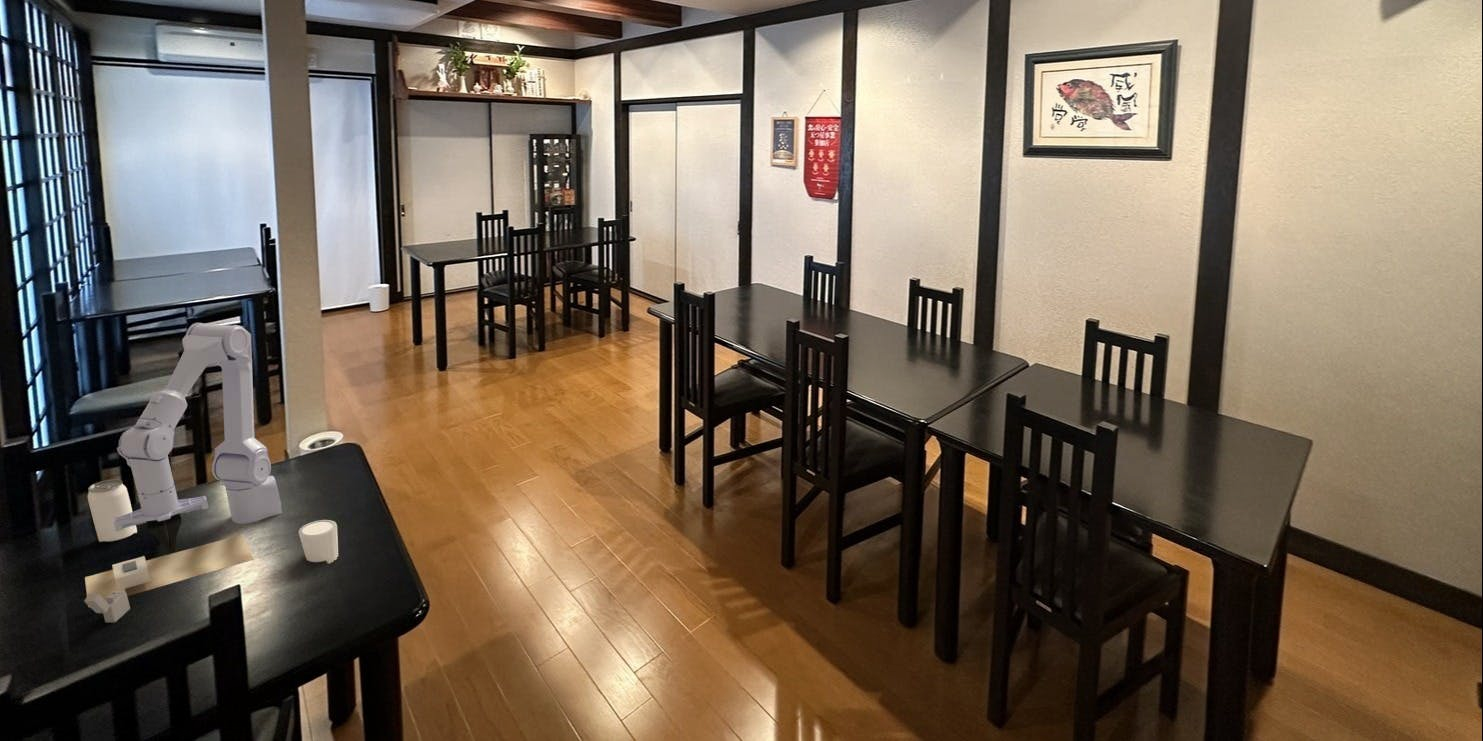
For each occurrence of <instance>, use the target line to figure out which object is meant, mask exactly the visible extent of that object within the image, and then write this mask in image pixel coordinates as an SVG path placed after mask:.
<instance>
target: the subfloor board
mask: <svg viewBox="0 0 1483 741" xmlns="http://www.w3.org/2000/svg"><path fill="white" fill-rule="evenodd" d="M253 560H255V558H254V556H253V554H252V552H251V550H250V548H249V546H248V543H247V541H246V540H245V538H244V535H243V534H239V535H235V536H231V537H228V538H223V539H221V540H218V541H213V542H209V543H206V544H203V545H198V546H195V547H191V548H187V549H184V550H180V551H176V552H174V553H171V554H165V555H162V556H158V557H155V558H151V559H148V560H146V564H147V568H148V573H149V577H150V582H147V583H143V584H140V585H136V586H133V587H129V588H126V589H122V590H119V592H126V594H127V597H131V596H133V595H134V596H135V595H136V594H140V593H143V592H146V591H151V590H153V589H157V588H161V587H164V586H167V585H172V584H175V583H178V582H181V581H182V582H183V581H185V580H188V579H191V578H192V579H193V578H195V577H199V576H201V575H206V574H208V573H212V572H215V571H218V570H223V569H227V568H229V567H233V566H236V565H240V564H243V563H247V562H250V561H253ZM84 581H85V582H84V583H85V590H86V597H87V596H88V594H99V595H100V596H101V597H102V598H103V599H104V600H105V601H107V600H106V597H107V596H108V595H109V594H111V593H112V592H116V591H118V590H117V586H116V582H115V578H114V572H113V569H110V570H106V571H103V572H99V573H96V574H93V575H89V576H85V577H84ZM87 608H90V607H89V606H88V605H87Z"/></svg>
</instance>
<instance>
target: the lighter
mask: <svg viewBox="0 0 1483 741" xmlns="http://www.w3.org/2000/svg"><path fill="white" fill-rule="evenodd" d="M128 597H129V596H127V594H126V592H119V591H116V592H112V593H111V594H109V595H108V596H107V597H106V600H107V601H105V600H104V599H103V598H102V597H101V596H100V595H99V594H88V596H87V595H86V598H85V599H84V603H85V604H86V605H87V607H88V606H89V608H90V609H91V610H93V611H94V612H95V614H103V618H104V622H105V623H116V622H117V621H119V619H121V618H122V617H123V616H124V615H125V614H126V613H127V612H128V611H130V610H131V606H130V602H129V598H128Z"/></svg>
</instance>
